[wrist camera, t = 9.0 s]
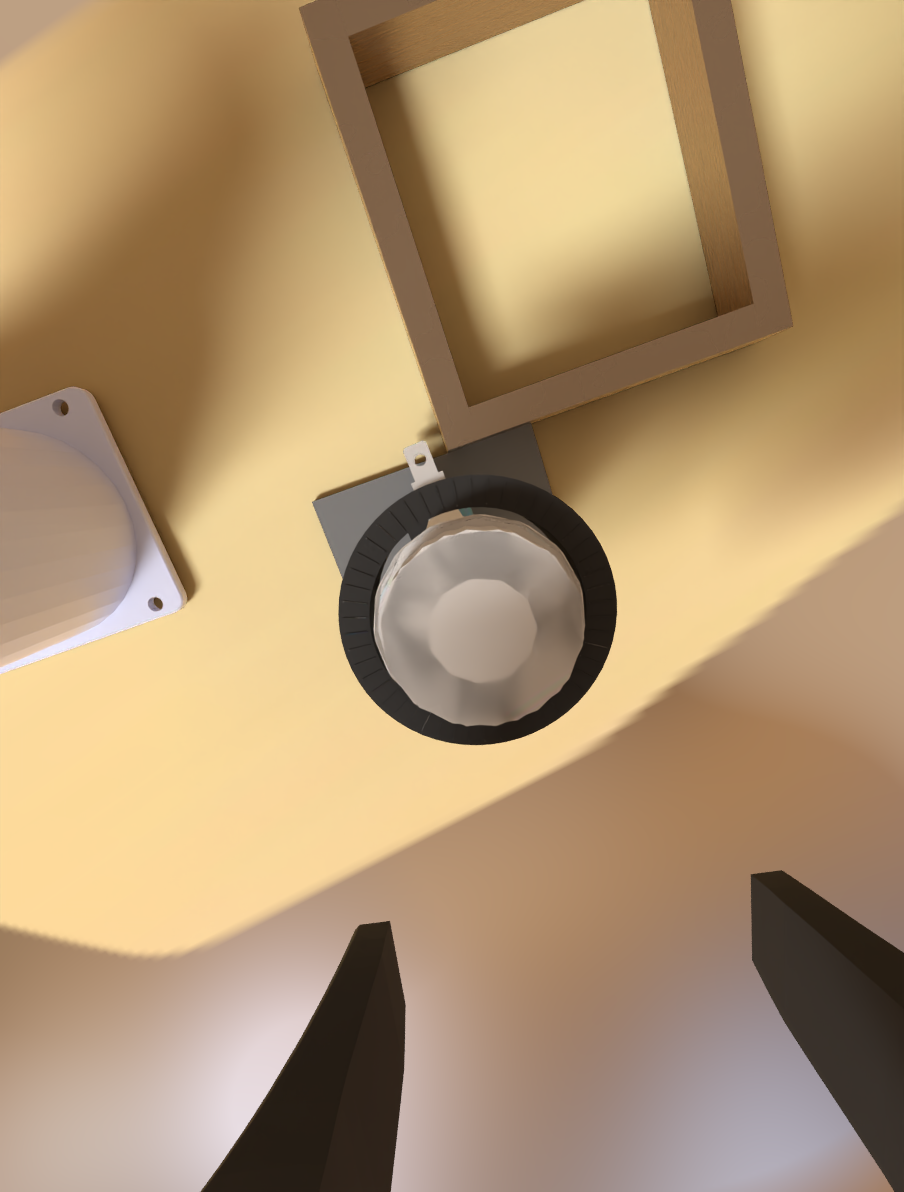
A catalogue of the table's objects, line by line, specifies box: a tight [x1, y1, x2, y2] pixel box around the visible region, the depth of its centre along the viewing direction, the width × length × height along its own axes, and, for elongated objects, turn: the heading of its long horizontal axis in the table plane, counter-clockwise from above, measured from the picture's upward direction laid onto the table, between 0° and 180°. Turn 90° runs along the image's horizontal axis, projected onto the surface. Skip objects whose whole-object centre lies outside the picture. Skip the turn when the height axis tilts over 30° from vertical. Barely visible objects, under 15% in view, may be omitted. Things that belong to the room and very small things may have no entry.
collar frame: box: [299, 0, 793, 453], centre depth 16 cm, size 11×12×2 cm
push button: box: [339, 441, 617, 745], centre depth 14 cm, size 7×5×10 cm
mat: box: [312, 423, 552, 583], centre depth 19 cm, size 8×7×1 cm
